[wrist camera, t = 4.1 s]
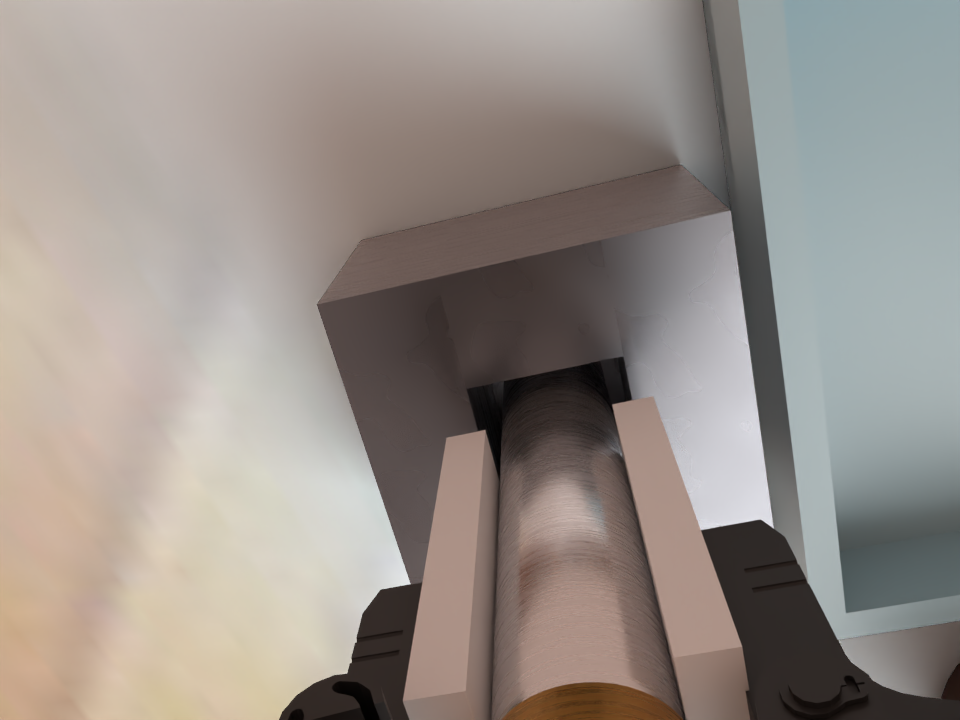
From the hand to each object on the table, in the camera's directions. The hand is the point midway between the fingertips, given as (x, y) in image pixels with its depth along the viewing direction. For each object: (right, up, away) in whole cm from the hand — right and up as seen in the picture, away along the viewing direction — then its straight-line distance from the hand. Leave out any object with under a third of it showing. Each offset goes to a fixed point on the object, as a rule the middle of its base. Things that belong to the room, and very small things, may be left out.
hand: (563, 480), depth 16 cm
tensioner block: (0, +3, +6) cm, 7 cm away
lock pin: (0, +2, +5) cm, 6 cm away
